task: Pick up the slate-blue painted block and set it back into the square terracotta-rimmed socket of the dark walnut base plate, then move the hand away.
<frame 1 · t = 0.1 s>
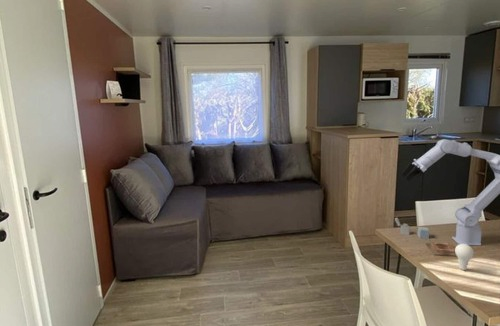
hand: (404, 177, 148), 32 cm above the table, tool tilted 50°, fingers open, 7 cm apart
lightbulb: (462, 270, 123), on the table
block: (423, 237, 155), on the table
base plate: (443, 250, 140), on the table
lighter: (401, 233, 161), on the table
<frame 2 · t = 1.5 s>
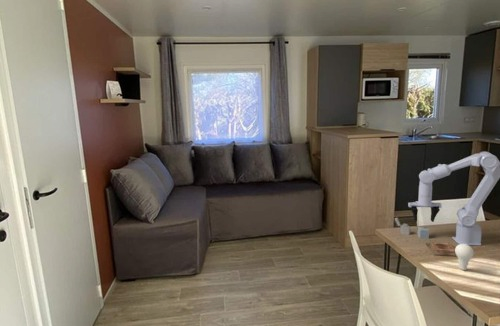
hand: (423, 220, 154), 9 cm above the table, tool pointing down, fingers open, 7 cm apart
nothing on the table moved.
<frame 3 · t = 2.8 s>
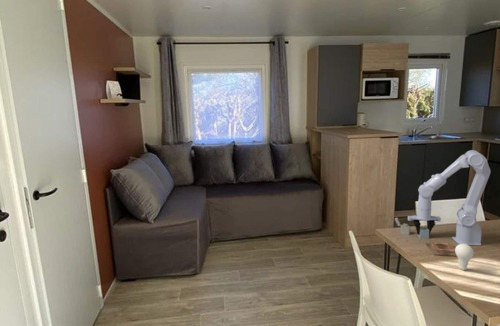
hand: (423, 234, 155), 1 cm above the table, tool pointing down, fingers closed on block, 4 cm apart
block: (423, 236, 155), on the table, touching gripper
everything else where it was.
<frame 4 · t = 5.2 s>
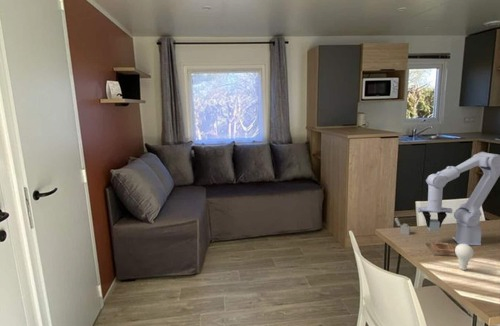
hand: (433, 226, 146), 8 cm above the table, tool pointing down, fingers closed on block, 4 cm apart
block: (433, 229, 147), point 7 cm above the table, touching gripper
everything else where it was.
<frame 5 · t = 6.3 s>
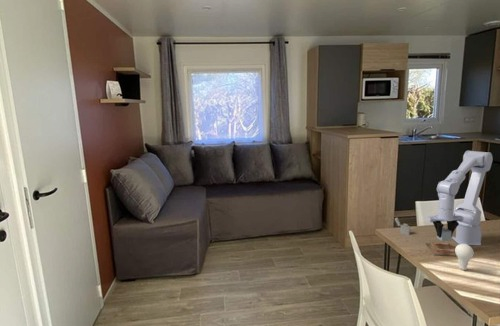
hand: (444, 236, 138), 7 cm above the table, tool pointing down, fingers closed on block, 4 cm apart
block: (443, 239, 139), point 5 cm above the table, touching gripper
everything else where it was.
when the fingers open (3 cm above the table, at t = 7.5 s): block stays where it is, resting on base plate.
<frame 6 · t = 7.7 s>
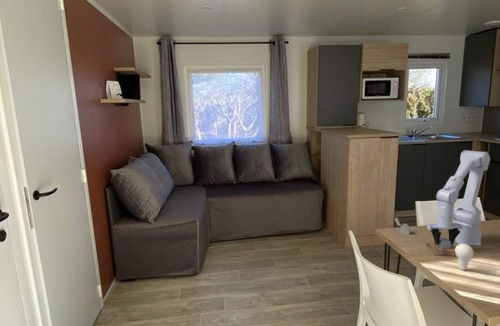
hand: (443, 244, 139), 3 cm above the table, tool pointing down, fingers open, 6 cm apart
block: (443, 248, 140), point 1 cm above the table, touching base plate
everything else where it was.
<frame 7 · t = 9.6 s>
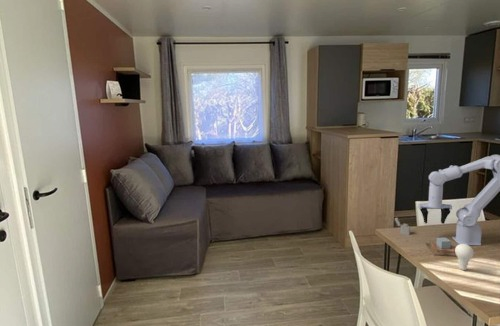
hand: (434, 222, 151), 8 cm above the table, tool pointing down, fingers open, 7 cm apart
nothing on the table moved.
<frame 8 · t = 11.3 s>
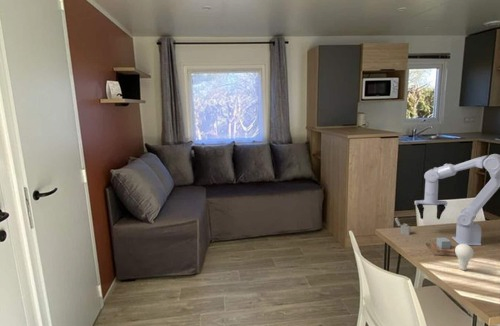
hand: (429, 218, 156), 8 cm above the table, tool pointing down, fingers open, 7 cm apart
nothing on the table moved.
at the end: block 0.3 cm off-centre on the base plate, point 0.8 cm above the base plate's base; block tilted 0°; the gripper is holding nothing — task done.
